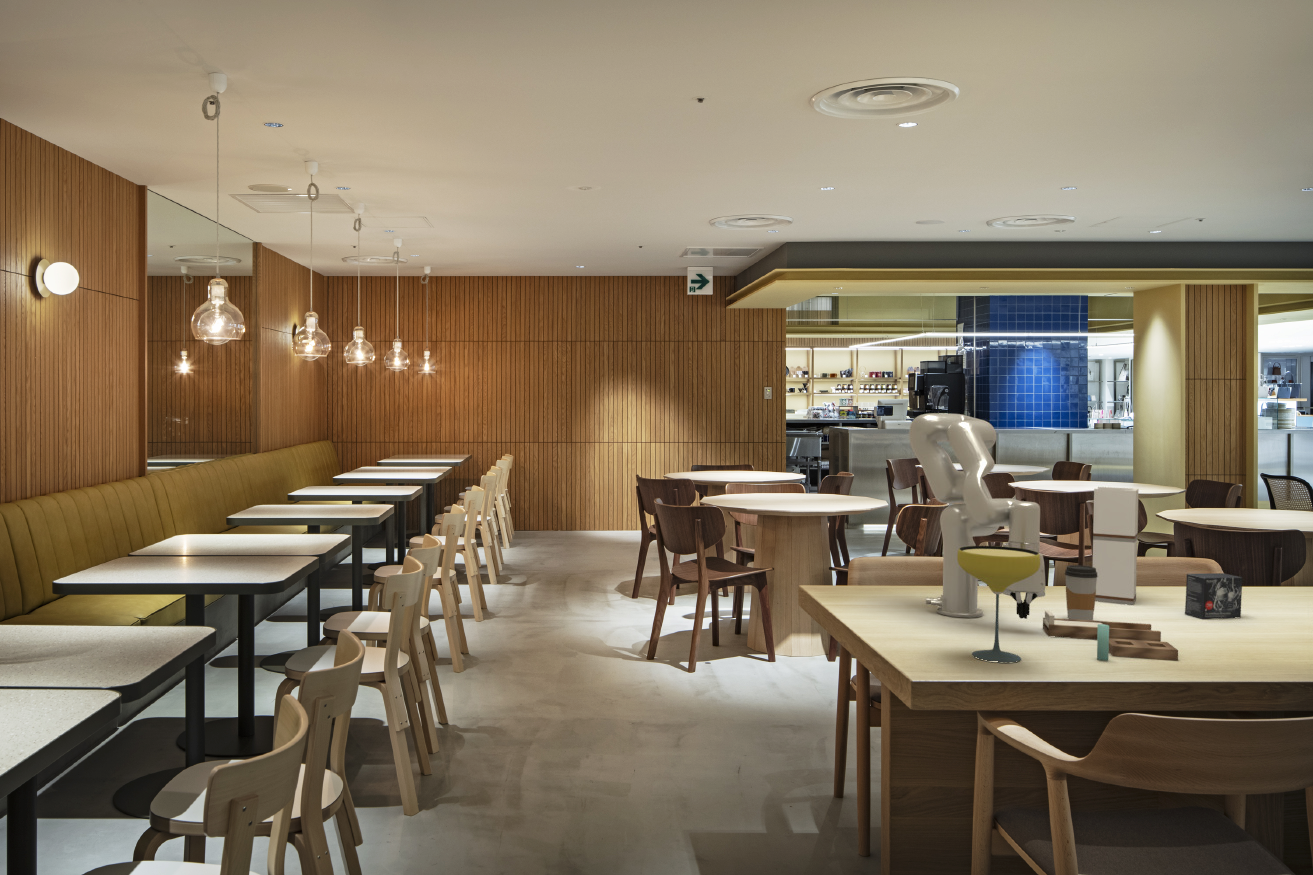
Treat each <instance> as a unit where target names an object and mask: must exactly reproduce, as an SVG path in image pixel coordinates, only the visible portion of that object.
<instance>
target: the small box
mask: <svg viewBox="0 0 1313 875" xmlns="http://www.w3.org/2000/svg"><path fill="white" fill-rule="evenodd" d="M1185 587H1186V588H1185V606H1184V607H1185V608H1184V615H1187V616H1190V615H1191V616H1192V617H1193V618H1194V617H1195V618H1198V619H1201V620H1210V619H1209V618H1223V619H1236V618H1235V617H1242V616H1241V614H1242V595H1243V594H1242V593H1243V592H1242V591H1243V577H1242V576H1237V575H1233V574H1230V573H1229V574H1228V573H1224V572H1223V573H1222V572H1220V573H1219V572H1218V573H1217V572H1216V573H1214V572H1213V573H1211V572H1210V573H1186V585H1185ZM1191 616H1190V617H1191Z"/></svg>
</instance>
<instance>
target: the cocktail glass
mask: <svg viewBox="0 0 1313 875" xmlns="http://www.w3.org/2000/svg"><path fill="white" fill-rule="evenodd" d="M1039 554H1040V552H1039V553H1038V552H1036V551H1032V550H1027V549H1021V548H1013V547H1003V545H1002V546H1001V545H999V546H998V545H976V546H966V547H961V548H959V550H958V555H957V559H958V564H959V566H960V567H961V568H962V569H963V570H964V571H966V572H967V573H969V574H970V575H972V576H974V577H975V578H977V579H978V581H981V582H982V583H984V584H985V585H986V586H987V587H988V588H989V589H990V591H991V592H992V593H993V594H995V622H994V623H995V626H994V627H995V628H994V630H995V631H994V643H993V647H992V649H982V650H980V649H979V650H976V651H973V652H971V655H973V656H974V658H975V657H977V658H979V659H983V660H987V661H998V662H1016V661H1019V662H1021V661H1022V657H1021V656H1019V655H1018V654H1015V653H1012V652H1008V651H1004V650H1001V647H1000V640H999V620H1000V619H999V610H1000V608H999V607H1000V606H999V605H1000V604H999V603H1000V595H1002V594H1003V592H1004V591H1005V589H1006V588H1007V587H1008V586H1010V585H1012V584H1014V583H1016V582H1019V581H1021V580H1024V579H1026V578H1028V577H1030V576H1032V575H1033V574H1035V573H1036V572H1037V571H1038V569H1039V567H1040V555H1039ZM973 656H972V657H973ZM977 658H976V659H977ZM979 659H978V660H979ZM983 660H982V661H983ZM1020 660H1021V661H1020ZM987 661H986V662H987ZM1016 663H1017V662H1016Z"/></svg>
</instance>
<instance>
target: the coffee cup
mask: <svg viewBox="0 0 1313 875" xmlns="http://www.w3.org/2000/svg"><path fill="white" fill-rule="evenodd" d="M1064 571H1065V572H1064V575H1065V597H1066V612H1067V614H1066V615H1067V619H1075V620H1091V621H1094V614H1095V613H1094V612H1095V604H1096V601H1095V596H1096V582H1097V577H1098V576H1097V572H1096V568H1094V567H1093V566H1088V565H1078V564H1075V565H1074V564H1073V565H1072V564H1071V565H1066V569H1065V570H1064Z"/></svg>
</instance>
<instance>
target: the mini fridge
mask: <svg viewBox="0 0 1313 875" xmlns="http://www.w3.org/2000/svg"><path fill="white" fill-rule="evenodd" d="M1138 521H1139V488H1133V487H1132V488H1131V487H1129V488H1128V487H1110V486H1109V487H1106V486H1105V487H1104V486H1098V487H1097V488H1094V489H1093V524H1092V525H1093V529H1092V530H1093V533H1092V567H1094V568H1096V572H1097V576H1098V577H1097V582H1096V596H1095V602H1097V601H1098V602H1099V603H1108V604H1118V605H1125V604H1127V605H1128V606H1134V605H1135V602H1136V601H1137V566H1138V565H1137V561H1138V557H1137V556H1138V535H1139V534H1138V531H1139V530H1138V529H1139V528H1138V526H1139V522H1138Z"/></svg>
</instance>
